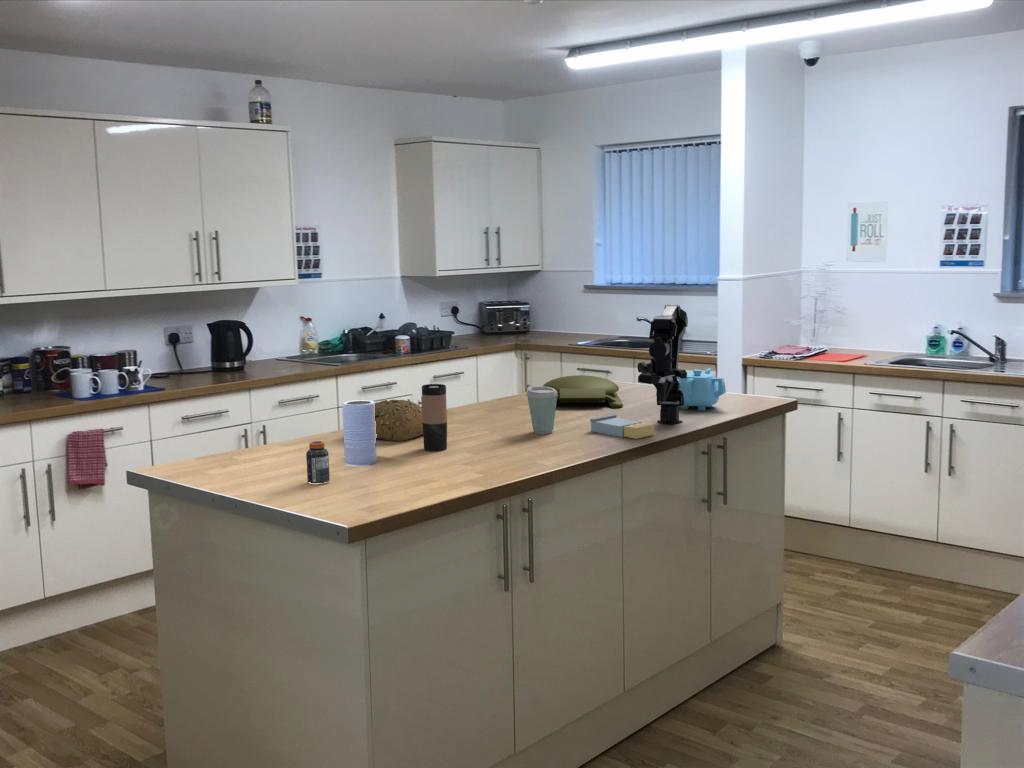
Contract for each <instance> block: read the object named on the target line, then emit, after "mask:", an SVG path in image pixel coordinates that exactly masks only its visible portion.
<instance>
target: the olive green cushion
mask: <svg viewBox="0 0 1024 768" xmlns="http://www.w3.org/2000/svg"><path fill="white" fill-rule="evenodd" d="M542 386H544V387H550V388H553V389H555V390H556V391H557V394H558V395H557V400H559V403H560V404H562V403H565V404H566V403H569V404H571V403H573V404H575V403H576V404H578V403H605V402H606V401H607V403H608V406H609V407H610V408H612V409H621V408H624V407H623V406H624V404H623V402H622V400H621V398H620V396H619V395H618V393H617V392H619V391H620V389H619V386H618V384H616V383H615V382H613V381H612V380H610V379H607V378H604V377H601V376H595V375H580V374H579V375H567V376H566V375H565V376H561V377H557V378H554V379H551V380H549V381H547V382H546V383H544V384H543V385H542Z"/></svg>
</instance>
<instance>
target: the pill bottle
mask: <svg viewBox="0 0 1024 768" xmlns="http://www.w3.org/2000/svg"><path fill="white" fill-rule="evenodd" d="M325 447H326V446H325V442H324V441H322V440H316V441H315V440H314V441H310V442H309V449H308V450H307V451H306V454H305V455H306V457H305V458H306V473H307V474H306V475H307V483H308V482H311V483H324V482H328V481H329V480H331V479H330V459H329V458H330V457H329V451H328V449H326V448H325ZM329 482H330V481H329ZM329 482H328V483H329Z"/></svg>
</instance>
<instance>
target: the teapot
mask: <svg viewBox="0 0 1024 768" xmlns="http://www.w3.org/2000/svg"><path fill="white" fill-rule="evenodd" d="M711 370H712V368H711V367H708V368H707V369H705V371H704V373H702V369H693V370H692V372H687V378H684V379H681V378H680V377H677V380H678V382H679V384H680V386H681V389H682V392H683V395H684V406H680V409H681V410H682V409H683V410H688V409H689V407H697V410H698V411H700V410H705V411H707V409H706V408H707V407H712V408H714V407H713V405H716V404H717V403H718V401H719V399H720V397H721V396H722V395H724V394H725V393H727V389H726V383H725V378H724V377H716V376H715V374H711ZM678 402H679V401H678Z"/></svg>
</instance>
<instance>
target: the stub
mask: <svg viewBox="0 0 1024 768" xmlns="http://www.w3.org/2000/svg"><path fill="white" fill-rule="evenodd" d="M639 422H640V423H636V424H632V425H627V426H624V437H623V438H629V439H636V440H637V439H641V438H647V437H650V436H655V424H654V423H648V422H644V421H639Z"/></svg>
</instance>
